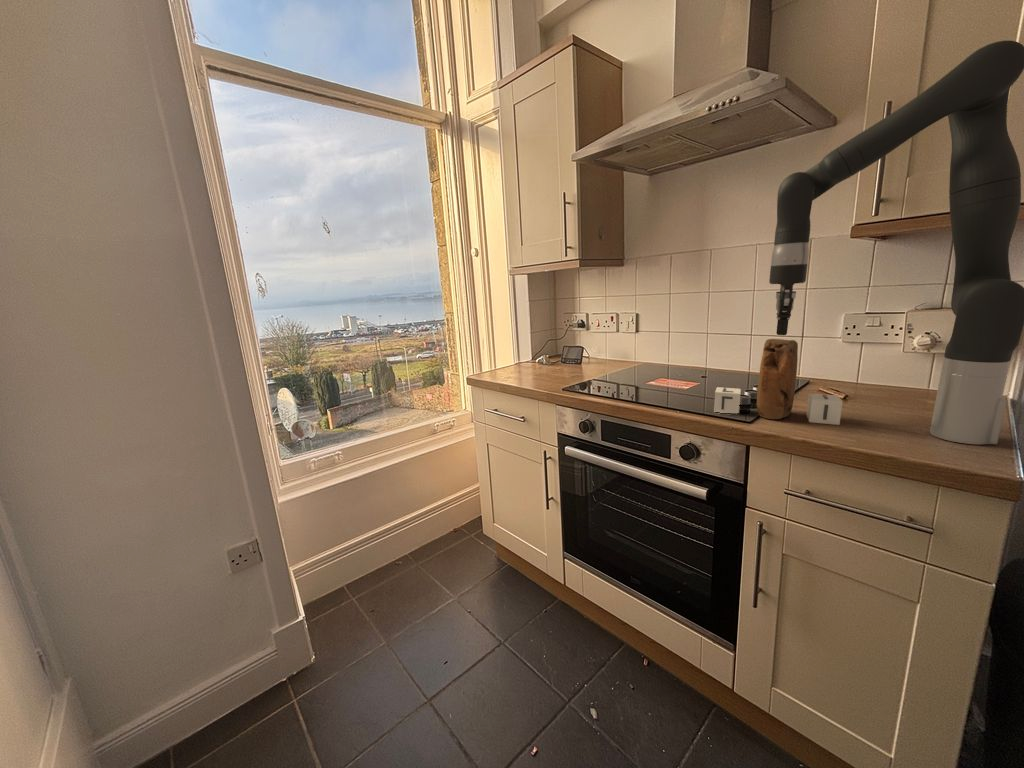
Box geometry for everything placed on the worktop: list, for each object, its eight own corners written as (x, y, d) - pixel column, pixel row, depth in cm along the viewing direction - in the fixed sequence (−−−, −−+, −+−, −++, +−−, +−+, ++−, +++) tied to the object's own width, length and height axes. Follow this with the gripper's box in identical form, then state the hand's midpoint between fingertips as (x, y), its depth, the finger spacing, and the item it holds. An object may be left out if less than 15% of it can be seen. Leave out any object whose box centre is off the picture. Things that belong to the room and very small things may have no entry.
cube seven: (739, 409, 116) (740, 388, 114) (738, 415, 110) (740, 393, 109) (715, 407, 118) (716, 386, 117) (713, 413, 113) (715, 391, 112)
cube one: (835, 418, 105) (838, 394, 104) (839, 425, 100) (842, 401, 98) (806, 415, 108) (809, 392, 107) (809, 422, 103) (812, 398, 101)
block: (762, 408, 115) (769, 337, 111) (794, 412, 110) (802, 338, 106) (751, 417, 108) (758, 341, 103) (785, 423, 103) (794, 343, 98)
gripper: (811, 261, 93) (802, 338, 97) (804, 263, 104) (797, 332, 108) (771, 263, 97) (764, 337, 101) (769, 265, 108) (763, 331, 112)
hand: (781, 334), depth 104 cm, fingers closed
